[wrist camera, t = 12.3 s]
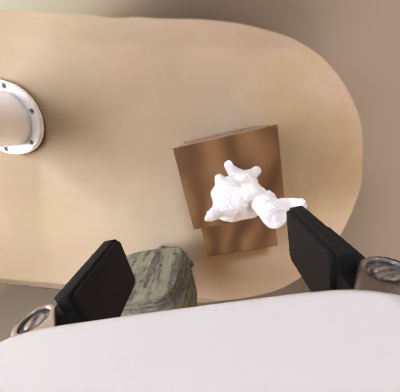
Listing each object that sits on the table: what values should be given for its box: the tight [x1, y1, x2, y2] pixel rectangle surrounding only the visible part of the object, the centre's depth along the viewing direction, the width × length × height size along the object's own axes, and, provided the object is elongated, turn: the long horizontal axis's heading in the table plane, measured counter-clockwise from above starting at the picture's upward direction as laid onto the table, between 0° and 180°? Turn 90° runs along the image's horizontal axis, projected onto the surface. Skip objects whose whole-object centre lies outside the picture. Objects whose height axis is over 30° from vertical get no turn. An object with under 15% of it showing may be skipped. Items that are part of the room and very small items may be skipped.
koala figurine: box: [205, 160, 307, 229], centre depth 21 cm, size 8×7×12 cm
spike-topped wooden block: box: [120, 246, 197, 317], centre depth 33 cm, size 14×9×25 cm, turn 102°
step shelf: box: [173, 125, 284, 256], centre depth 34 cm, size 13×22×11 cm, turn 13°
